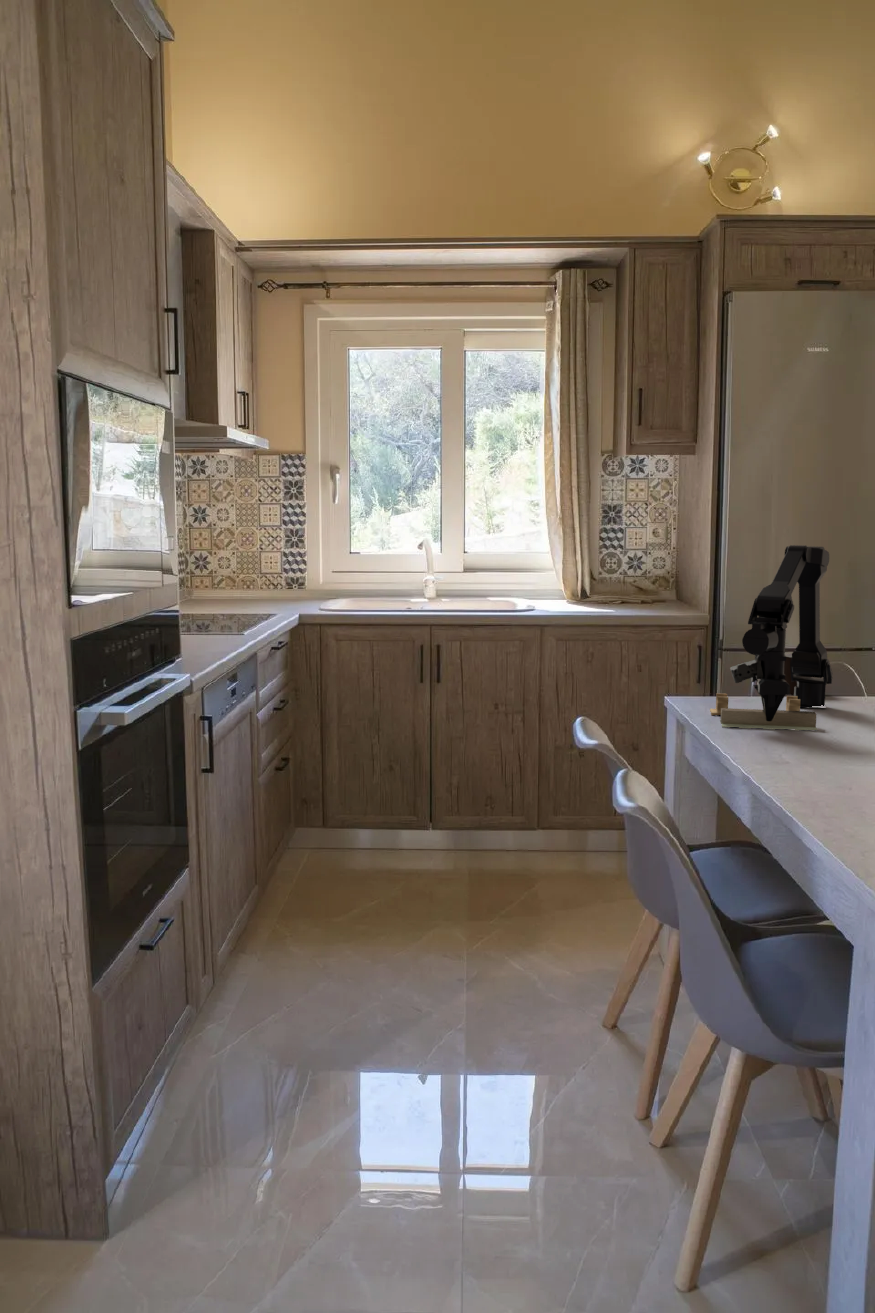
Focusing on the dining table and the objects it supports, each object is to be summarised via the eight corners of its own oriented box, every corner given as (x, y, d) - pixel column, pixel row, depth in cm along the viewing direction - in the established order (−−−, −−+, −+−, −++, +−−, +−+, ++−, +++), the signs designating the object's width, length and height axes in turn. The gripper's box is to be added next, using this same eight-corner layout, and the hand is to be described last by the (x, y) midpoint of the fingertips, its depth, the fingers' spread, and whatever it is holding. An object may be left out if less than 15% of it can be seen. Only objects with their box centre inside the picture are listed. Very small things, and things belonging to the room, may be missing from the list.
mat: (812, 724, 225) (812, 723, 225) (817, 731, 218) (817, 729, 218) (720, 721, 229) (720, 719, 229) (722, 727, 222) (722, 725, 222)
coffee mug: (806, 696, 261) (808, 658, 260) (773, 693, 266) (775, 655, 265) (820, 690, 270) (822, 653, 269) (788, 687, 276) (789, 651, 274)
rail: (813, 724, 223) (814, 711, 222) (815, 727, 220) (816, 713, 220) (720, 721, 227) (720, 708, 226) (721, 723, 224) (721, 710, 224)
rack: (801, 714, 237) (802, 696, 236) (805, 719, 231) (806, 700, 231) (709, 711, 241) (710, 692, 240) (711, 715, 236) (712, 696, 235)
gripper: (729, 644, 232) (727, 710, 234) (737, 654, 214) (734, 726, 216) (780, 645, 230) (777, 712, 232) (791, 656, 212) (788, 728, 214)
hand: (768, 719), depth 223 cm, fingers closed on rail, 3 cm apart
